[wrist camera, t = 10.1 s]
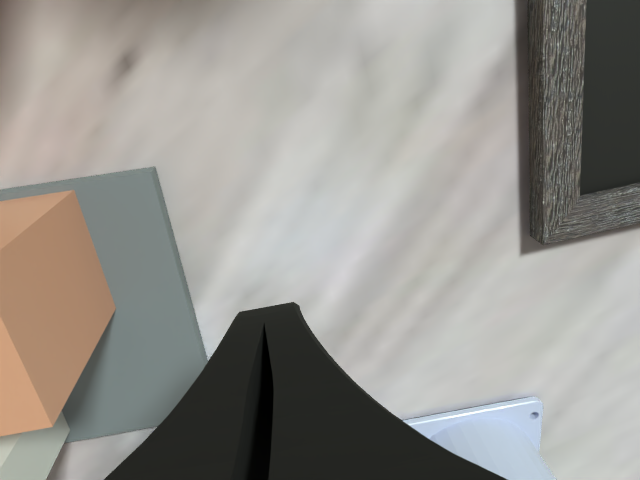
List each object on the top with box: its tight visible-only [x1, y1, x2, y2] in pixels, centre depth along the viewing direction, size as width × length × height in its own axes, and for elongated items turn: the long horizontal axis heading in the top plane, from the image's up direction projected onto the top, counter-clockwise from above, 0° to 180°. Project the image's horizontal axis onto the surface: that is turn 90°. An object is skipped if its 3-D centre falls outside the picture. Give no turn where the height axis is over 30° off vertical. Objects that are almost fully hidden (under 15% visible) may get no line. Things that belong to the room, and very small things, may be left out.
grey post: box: [0, 411, 70, 480], centre depth 19 cm, size 3×3×5 cm
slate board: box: [0, 167, 208, 443], centre depth 20 cm, size 12×11×1 cm
